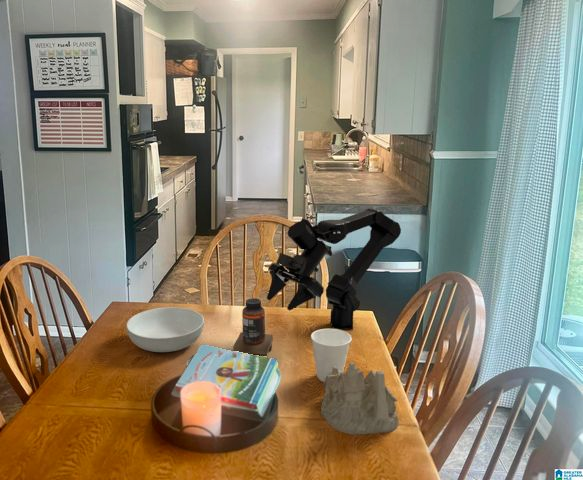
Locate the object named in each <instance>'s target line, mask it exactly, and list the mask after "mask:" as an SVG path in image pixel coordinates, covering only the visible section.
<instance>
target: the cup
mask: <svg viewBox="0 0 583 480" xmlns="http://www.w3.org/2000/svg"><path fill="white" fill-rule="evenodd" d="M310 334H311V335H310V339H311V343H312V349H313V356H314V362H315V371H316V377H317V379H318V380H319V381H321V382H322V383H324V382H325V378H326V376H327V375H329V373H331V372H332V369H333V366H337V367H338V368H339V369H340V370H341V371H342V372H343V373H344V370H345V366H346V361H347V358H348V357H347V356H348V353H349V349H350V344H351V342H352V339H353V338H352V335H351V334H349V333H348V332H347V331H345V330H343V329H337V328H322V329H321V328H320V329H317V330H314V331H313V332H311V333H310Z"/></svg>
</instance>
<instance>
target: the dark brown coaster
mask: <svg viewBox="0 0 583 480" xmlns="http://www.w3.org/2000/svg"><path fill="white" fill-rule="evenodd" d="M273 340H274V335H273V334H267V333H265V339H264V341H263V342H261V343H259V344H248V343H246V342H244V341H243V331H242V332H241V331H240V333H239V335H238V337H237V338H236V340H235V342H234V344H233V345H232V352H233V351H239V352H244V353H243V354H256V355H261V356H267V357H268V353H269V352H271V351H272V349H273Z"/></svg>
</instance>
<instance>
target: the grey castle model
mask: <svg viewBox="0 0 583 480" xmlns="http://www.w3.org/2000/svg"><path fill="white" fill-rule="evenodd" d="M358 369H359V368H358V366H356V364H355V363H354V362H353V361H350V362H349V364H348V367H347V371H346V372H344V371H343V372H342V371H341V370H340V369H339V368H338V367H337V366H333V369H332V372H331V373H329V375H327V376H326V378H325V382H323V386H324V387H325V388H324V389H325V392H324V393H325V394H324V396H323V398H322V401H321V408H320V414H321V416H322V417H323V418H324V419H325V421H326V423H328V425H330V426H331V427H332V428H333V429H334V430H336V431H339V432H342V433H345V434H348V435H366V434H368V435H369V434H380V433H381V434H384V433H390V432H391V433H392V432H393V431H395V430H397V429H398V427H399V425H400V423H399V416H398V413H397V405H396V403H395V402H397V401H398V398H396V397H395V395H394V394H393V393H392V392H391V390H390V389H389V388H388V387H387V386H386V379H385V372H384V371H383V370H379V369H378V370H376V371H375V372H374V370H373V369H370V370H369V372H368V373H367V375H366V376H365V374H364V369H362V370H358Z"/></svg>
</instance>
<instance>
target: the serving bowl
mask: <svg viewBox="0 0 583 480" xmlns="http://www.w3.org/2000/svg"><path fill="white" fill-rule="evenodd" d="M204 325H205V319H204V316H203V314H201V313H199V312H198V311H196V310H194V309H191V308H185V307H178V306H177V307H175V306H167V307H166V306H165V307H158V308H156V307H155V308H151V309H148V310H143V311H141V312H139V313H136V314H135V315H133V316H131V317H130V318H129V319H128V320H127V323H126V325H125V326H126V327H125V328H126V331H127V334H128V336H129V339H130V340H131V342H132V343H133V344H134V345H136V346H137V347H139V348H141V349H143V350H145V351H149V352H153V353H154V352H155V353H169V352H176V351H180V350H184V349H185V348H187V347H189V346H191V345H193V344H194V343H195V342H196V341H197V340H198V339H199V338H200V336H201V334H202V333H203V330H204Z"/></svg>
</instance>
